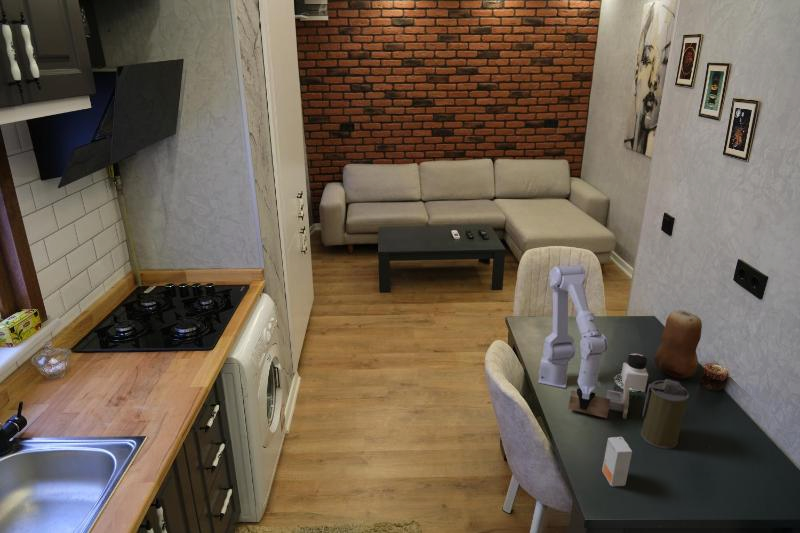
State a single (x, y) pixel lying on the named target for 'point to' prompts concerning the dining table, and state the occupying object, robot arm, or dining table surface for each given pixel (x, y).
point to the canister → (664, 413)
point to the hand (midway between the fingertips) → (583, 405)
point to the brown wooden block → (591, 405)
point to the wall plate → (626, 398)
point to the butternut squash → (679, 345)
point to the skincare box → (616, 461)
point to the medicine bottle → (635, 372)
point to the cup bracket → (615, 396)
